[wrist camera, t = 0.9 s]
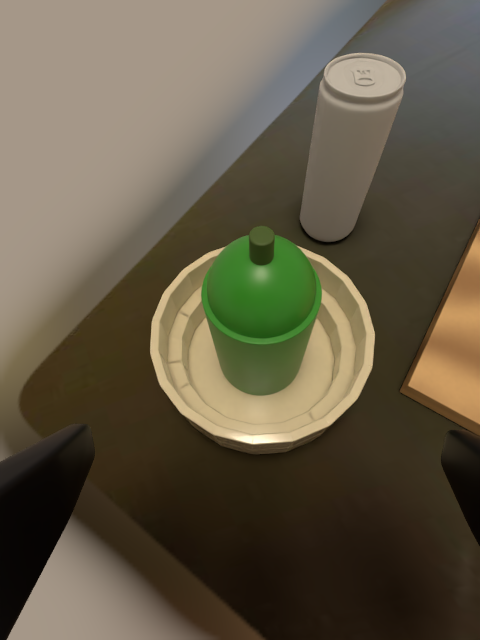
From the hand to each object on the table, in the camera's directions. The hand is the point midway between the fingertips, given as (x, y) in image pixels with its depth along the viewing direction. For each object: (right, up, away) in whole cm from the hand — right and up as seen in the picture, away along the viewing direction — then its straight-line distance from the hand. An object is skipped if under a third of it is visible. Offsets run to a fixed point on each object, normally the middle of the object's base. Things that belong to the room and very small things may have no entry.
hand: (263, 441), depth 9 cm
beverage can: (+7, +11, +21) cm, 25 cm away
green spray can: (+1, +1, +15) cm, 15 cm away
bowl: (+1, 0, +16) cm, 16 cm away
